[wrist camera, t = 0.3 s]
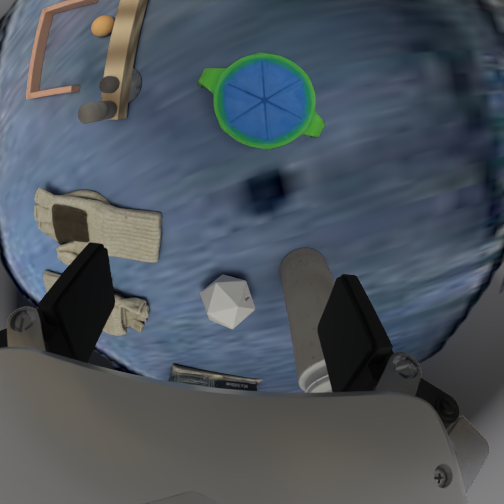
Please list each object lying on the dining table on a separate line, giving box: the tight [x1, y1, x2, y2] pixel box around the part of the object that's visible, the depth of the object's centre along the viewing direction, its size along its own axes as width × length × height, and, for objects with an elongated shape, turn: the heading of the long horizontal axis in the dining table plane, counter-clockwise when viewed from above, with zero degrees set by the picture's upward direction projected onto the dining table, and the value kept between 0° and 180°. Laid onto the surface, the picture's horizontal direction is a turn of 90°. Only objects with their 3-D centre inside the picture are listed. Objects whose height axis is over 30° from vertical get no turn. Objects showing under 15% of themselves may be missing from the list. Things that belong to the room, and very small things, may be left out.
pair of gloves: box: [34, 187, 162, 336], centre depth 44 cm, size 30×26×5 cm
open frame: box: [26, 0, 98, 100], centre depth 25 cm, size 17×10×2 cm, turn 170°
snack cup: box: [198, 53, 325, 150], centre depth 29 cm, size 16×10×10 cm
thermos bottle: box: [280, 248, 335, 393], centre depth 35 cm, size 8×8×28 cm
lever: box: [78, 0, 148, 124], centre depth 24 cm, size 20×3×9 cm, turn 170°
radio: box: [169, 364, 262, 391], centre depth 57 cm, size 23×9×15 cm, turn 67°
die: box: [200, 274, 255, 329], centre depth 45 cm, size 8×9×10 cm
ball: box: [91, 15, 115, 37], centre depth 24 cm, size 4×4×4 cm
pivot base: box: [128, 68, 142, 103], centre depth 31 cm, size 6×6×1 cm
